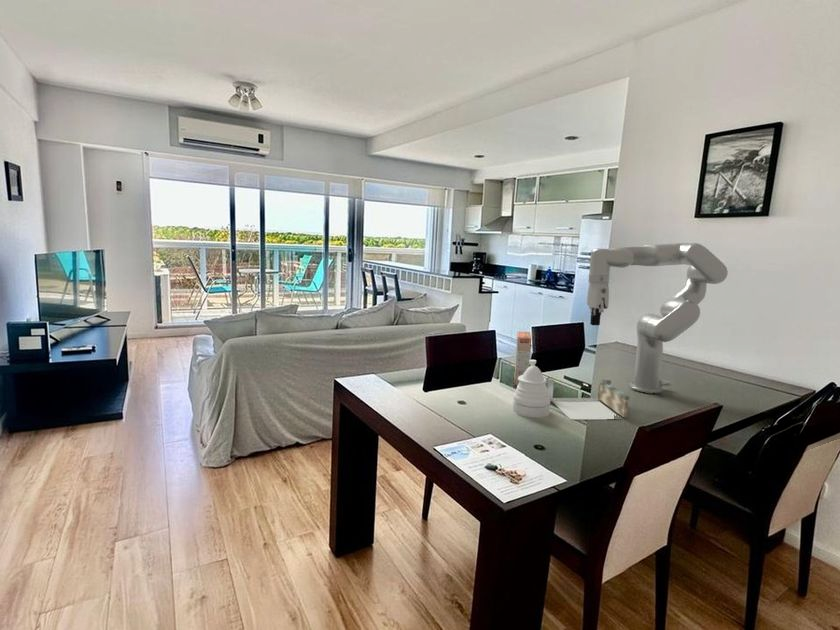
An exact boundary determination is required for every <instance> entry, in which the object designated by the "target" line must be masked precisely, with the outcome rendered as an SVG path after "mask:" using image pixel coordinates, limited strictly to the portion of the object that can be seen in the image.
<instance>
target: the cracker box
mask: <svg viewBox="0 0 840 630" xmlns="http://www.w3.org/2000/svg"><path fill="white" fill-rule="evenodd" d="M515 346H516V348H515V361H514V362H515V363H514V386H518V384H519V382H520V381H519V380H518V377H519V376H521V375H523V374H524V372H525V371H526V370H527V369H528V368H529V367H530V363H529V360H531V352H532V351H531V348H532V335H531V331H530V332H529V331H517V333H516V345H515Z"/></svg>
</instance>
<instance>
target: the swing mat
mask: <svg viewBox="0 0 840 630" xmlns="http://www.w3.org/2000/svg"><path fill="white" fill-rule="evenodd" d="M552 403H553V404H554V405H555V406H556V407H557V408H558V409H559V411H561V412H562V413H563V414H564V415H565V416H566V418H568V419H569V421H608V420H607V419H614V415H615V416H616V415H617V414H616V412H614V411H612V410H611V408H608V406H606V405H605V404H604V403H603V402H552Z"/></svg>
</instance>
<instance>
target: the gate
mask: <svg viewBox="0 0 840 630" xmlns="http://www.w3.org/2000/svg"><path fill="white" fill-rule="evenodd" d="M597 398H598V399H600V400H601V401H602V402H601V403H603V404H604V405H605V406H606V405H607V407H609V409H612V410H613V412H615V413H617V415H619V416H622V417H623V418H627V417H628V409H629V401H630V396H629V395H627V394H626V393H624V392H623V391H621V390H620V389H618V388H616V387H615V386H613V385H612V384H611V385H610V384H609V383H607V382H606V381H604V379H599V383H598V394H597Z"/></svg>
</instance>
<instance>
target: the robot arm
mask: <svg viewBox="0 0 840 630" xmlns="http://www.w3.org/2000/svg"><path fill="white" fill-rule="evenodd" d="M676 265H677V266H678V265H679V266H680V265H686V266H687V265H689V266H688V268H687V270H686V282H685V285H683V287H682V288H681V289H680V290H679V291H677V292H676V293H675V294H674V295H673V296H671V297H669V298H668V299H667V300H666V301H665V302H664V303H662V305H661V306H660V309H659V311H660V314H661V315H659V314H654V313H647V314H643V315H642V316H641V317H640V318H639V319H638V321H637V323H636V335H637V345H636V353H635V365H634V374H633V375H634V376H633V381H632V382H630V383H629V385H628V387H629V386H630V387H631V388H632V389H631V388H630V387H629V388H630V389H631V390H633V389H635V390H637V391H636V392H639V391H641V392H640V393H643V392H645V394H653V393H655V394H660V393H662V392H663V390H664V389H663V387H664V386H665V387H667V386H668V387H670V386H671V385H672V384H671V381H670V380H664V379H661V377H660V376H661V368H662V359H663V350H664V345H663V343H667V342H671V341H673V340H675V339H676V338H677V337H679V336H680V335H681V334H683V333H684V332H686V331H687V330H688V329H689V328H691V327H692V326H693V325H694V324H695V323H697V321H698V320H699V318H700V316H701V309H700V306H699V304H700V303H701V302H702V301H703V300H704V299H705V297H706V293H707V284H710V285H717V284H721V283H723V282H724V281H725V280H726V279H727V277H728V275H729V274H728V272H729V271H728V267H727V266H726V265H725V263H724V262H722V261H721V260H720V258H718V257H717V256H716V255H715V254H713V252H711V251H710V250H709V249H708V248H707V247H706V246H704V245H703V244H701V243H697V242H689V243H688V242H682V243H680V242H679V243H678V242H676V243H664V244H651V245H650V244H649V245H648V244H647V245H641V246H627V247H626V246H625V247H611V248H593V249H591V251H590V261H589V271H588V284H589V285H588V289H587V298H586V300H587V301H586V304H587V306H588V308H589V310H590V323H589V325H591V326H600V324H601V316H602V313H604V310H607V309H608V308H609V301H610V300H609V299H610V298H609V297H610V296H609V295H610V290H609V281H610V272H611V267H612V268H619V269H620V268H622V269H623V268H627V267H630V266H642V267H662V266H663V267H665V266H676ZM635 390H634V391H635Z"/></svg>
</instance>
